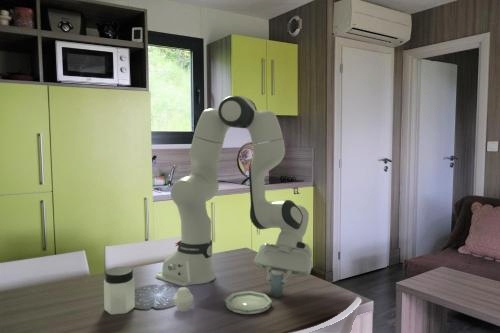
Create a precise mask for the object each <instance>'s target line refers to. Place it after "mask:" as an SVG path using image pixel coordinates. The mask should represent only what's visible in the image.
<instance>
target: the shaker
mask: <svg viewBox="0 0 500 333" xmlns="http://www.w3.org/2000/svg"><path fill="white" fill-rule="evenodd" d="M270 274H271V282H270V295H271V297H274V298H279V297H280V298H281V297H283V296H284V295H283V294H284V291H283V290H284V288H283V286H284V284H282V283H281V280H282V277H283V278H284V272H283V271H282V270H272V271H271V273H270Z"/></svg>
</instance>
